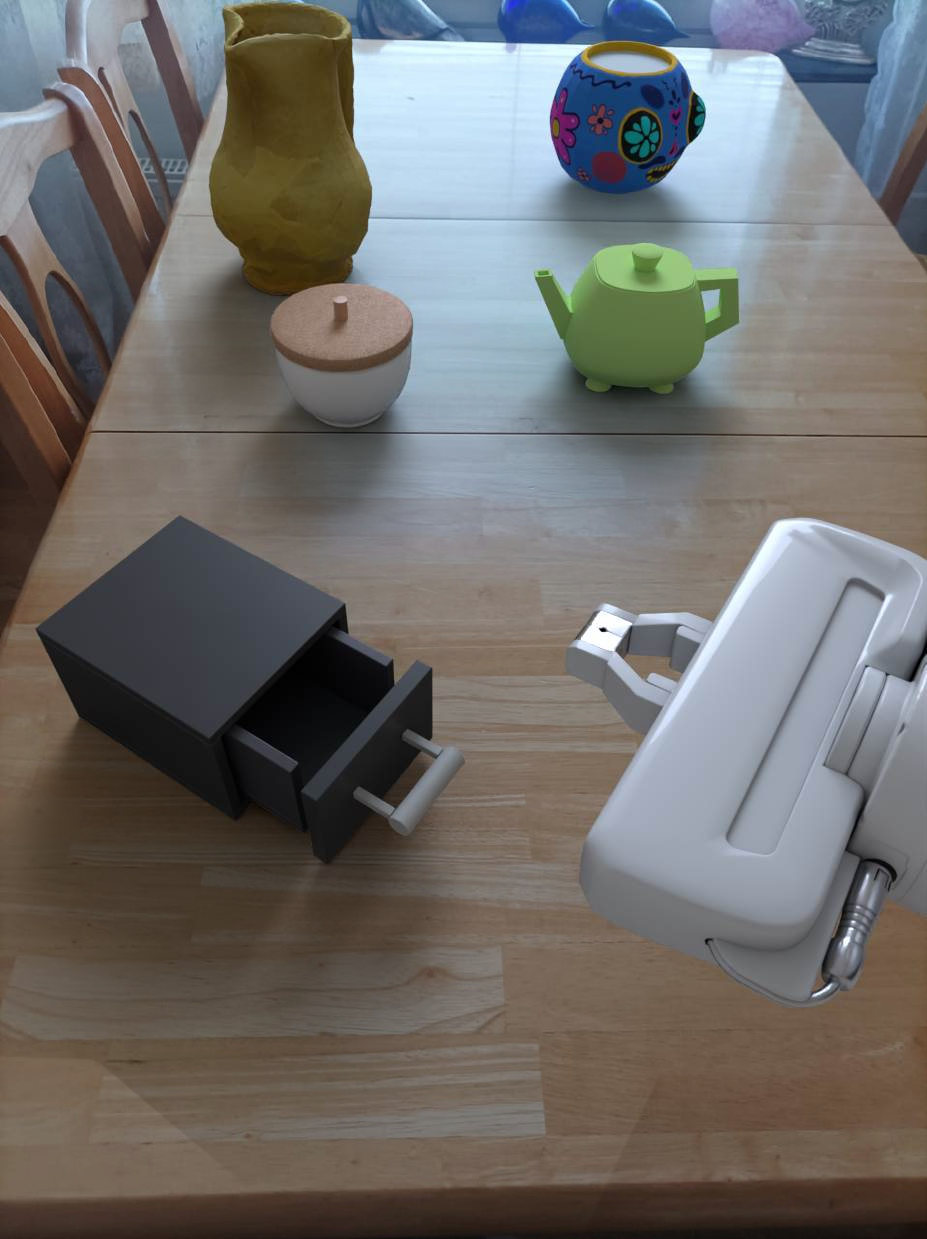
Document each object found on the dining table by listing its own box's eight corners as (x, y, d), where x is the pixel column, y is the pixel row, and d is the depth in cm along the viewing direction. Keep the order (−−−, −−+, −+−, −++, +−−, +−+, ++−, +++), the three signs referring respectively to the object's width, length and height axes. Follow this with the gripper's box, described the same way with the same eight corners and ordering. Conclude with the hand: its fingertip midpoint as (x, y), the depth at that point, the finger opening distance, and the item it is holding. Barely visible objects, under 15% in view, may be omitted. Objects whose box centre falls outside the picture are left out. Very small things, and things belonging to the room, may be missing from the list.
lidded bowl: (434, 384, 92) (435, 280, 84) (379, 460, 84) (374, 354, 76) (320, 354, 95) (310, 251, 86) (257, 425, 87) (238, 319, 79)
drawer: (485, 767, 62) (491, 698, 57) (384, 902, 56) (378, 841, 50) (281, 650, 69) (266, 577, 63) (168, 761, 62) (140, 691, 56)
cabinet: (355, 691, 67) (345, 602, 60) (235, 821, 60) (209, 739, 53) (205, 606, 72) (179, 514, 65) (78, 717, 65) (34, 628, 58)
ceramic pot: (616, 230, 114) (636, 98, 102) (516, 178, 122) (524, 50, 111) (708, 190, 121) (736, 62, 110) (608, 144, 130) (625, 21, 118)
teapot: (528, 404, 90) (539, 283, 81) (524, 327, 99) (534, 210, 90) (734, 410, 90) (770, 290, 81) (712, 333, 99) (742, 217, 90)
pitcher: (191, 250, 107) (157, -2, 88) (336, 219, 115) (332, -19, 96) (256, 324, 98) (233, 62, 79) (408, 286, 106) (420, 38, 87)
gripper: (812, 1071, 30) (449, 867, 35) (955, 658, 42) (667, 550, 47) (872, 994, 25) (444, 773, 31) (1013, 554, 37) (687, 448, 42)
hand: (581, 635), depth 39 cm, fingers closed
